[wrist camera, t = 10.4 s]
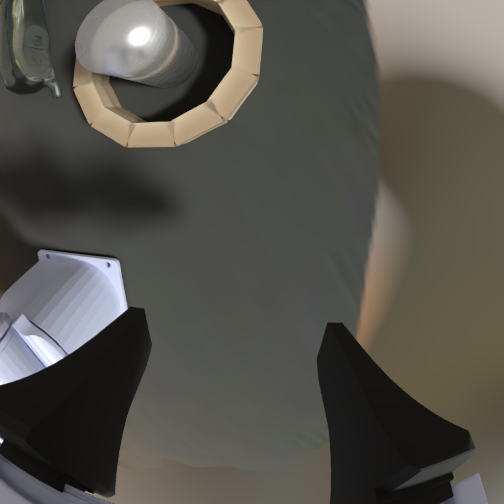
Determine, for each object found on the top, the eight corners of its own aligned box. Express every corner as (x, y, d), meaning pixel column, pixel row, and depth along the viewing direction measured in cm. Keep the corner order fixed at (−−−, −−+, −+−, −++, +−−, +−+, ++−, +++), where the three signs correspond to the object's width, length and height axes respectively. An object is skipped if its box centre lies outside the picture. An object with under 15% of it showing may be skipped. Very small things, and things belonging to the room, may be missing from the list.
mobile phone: (-8, -7, 5) (2, 115, 11) (15, -31, 5) (26, 88, 10) (24, 1, 10) (45, 111, 16) (46, -19, 9) (69, 90, 15)
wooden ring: (90, 146, 17) (71, 151, 15) (105, 3, 12) (89, -7, 10) (252, 146, 17) (251, 150, 15) (267, -13, 12) (268, -29, 10)
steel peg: (141, 92, 16) (73, 83, 8) (142, 41, 14) (79, 8, 7) (198, 84, 15) (155, 61, 8) (198, 31, 14) (161, -18, 7)
